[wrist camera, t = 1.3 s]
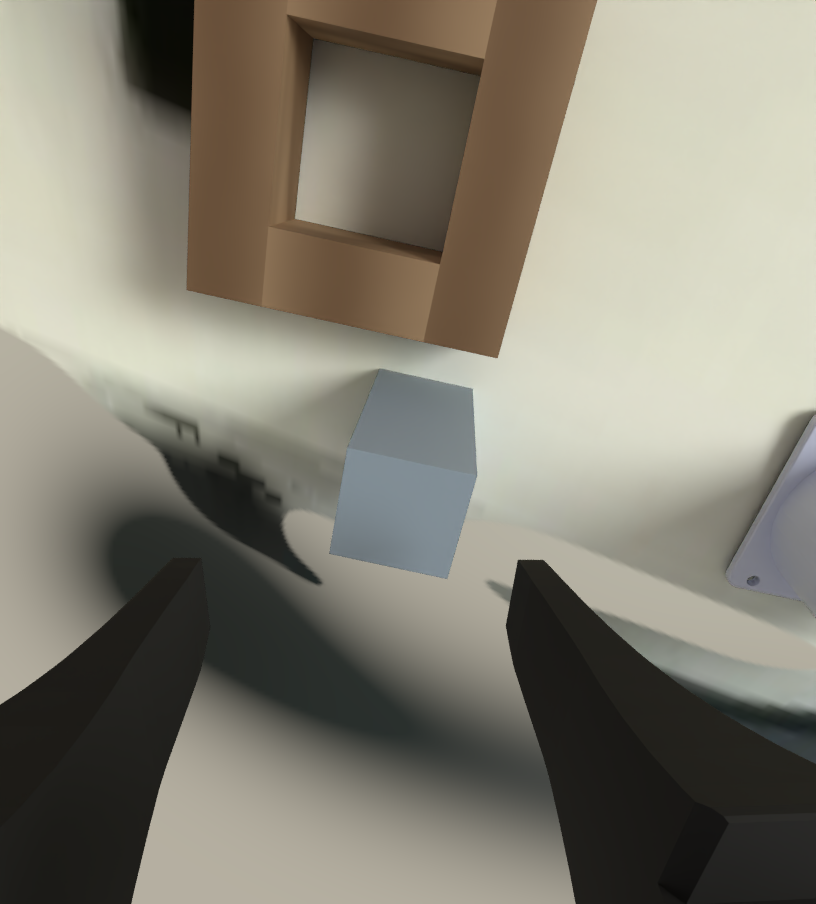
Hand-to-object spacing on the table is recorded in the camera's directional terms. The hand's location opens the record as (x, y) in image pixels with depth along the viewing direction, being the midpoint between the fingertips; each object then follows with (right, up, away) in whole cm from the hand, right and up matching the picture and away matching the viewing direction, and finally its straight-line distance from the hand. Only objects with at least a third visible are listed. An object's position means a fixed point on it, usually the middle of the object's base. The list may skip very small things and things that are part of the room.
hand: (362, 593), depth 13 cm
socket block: (0, +13, +5) cm, 14 cm away
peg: (+1, +4, +9) cm, 11 cm away
